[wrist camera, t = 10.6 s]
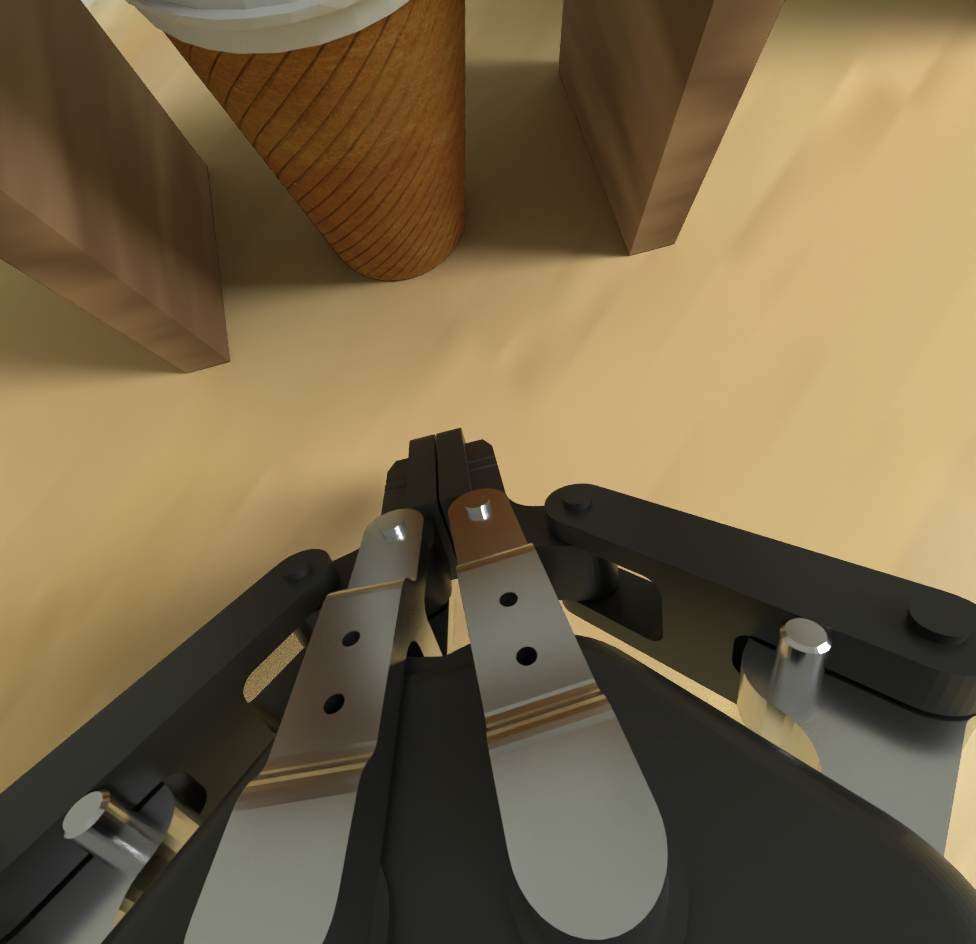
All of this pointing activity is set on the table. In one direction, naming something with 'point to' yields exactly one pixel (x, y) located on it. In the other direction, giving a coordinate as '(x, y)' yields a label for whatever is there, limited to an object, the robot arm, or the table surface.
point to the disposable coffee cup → (344, 113)
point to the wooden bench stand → (184, 176)
